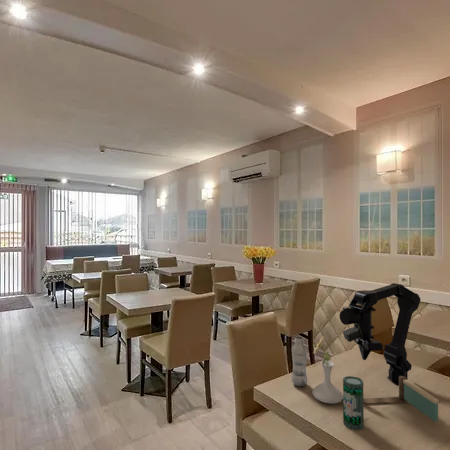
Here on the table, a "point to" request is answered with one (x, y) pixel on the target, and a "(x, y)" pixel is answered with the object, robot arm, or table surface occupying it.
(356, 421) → the can
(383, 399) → the gate frame
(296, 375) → the plastic bottle
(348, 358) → the table surface
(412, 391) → the panel
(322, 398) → the flower in vase
